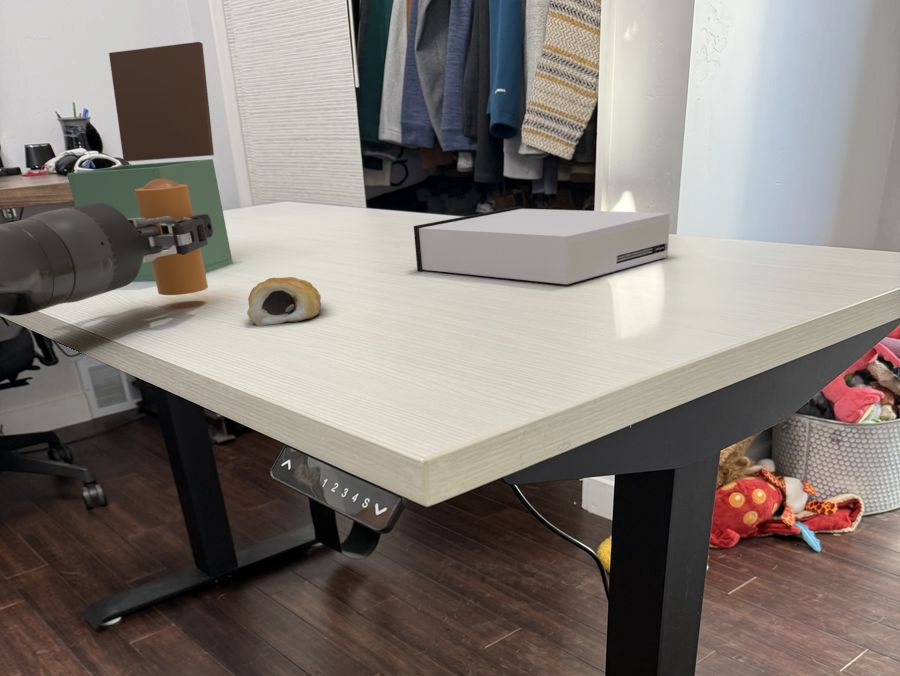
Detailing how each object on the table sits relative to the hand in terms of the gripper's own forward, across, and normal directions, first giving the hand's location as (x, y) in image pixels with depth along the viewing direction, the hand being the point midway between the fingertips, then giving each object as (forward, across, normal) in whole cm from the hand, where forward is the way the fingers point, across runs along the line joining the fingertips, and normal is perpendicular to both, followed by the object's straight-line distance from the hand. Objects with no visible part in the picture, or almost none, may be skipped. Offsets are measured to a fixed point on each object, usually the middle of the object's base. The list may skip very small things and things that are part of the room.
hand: (184, 225), depth 91 cm
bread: (-3, 0, +6) cm, 7 cm away
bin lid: (+24, +17, -12) cm, 31 cm away
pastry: (-8, -15, +8) cm, 19 cm away
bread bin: (+17, +17, +8) cm, 25 cm away
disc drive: (+17, -34, +8) cm, 39 cm away
